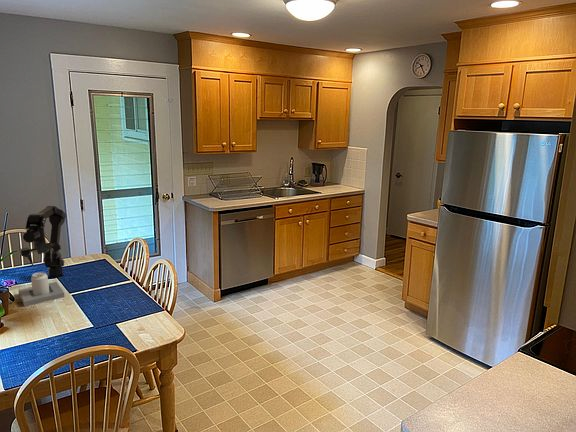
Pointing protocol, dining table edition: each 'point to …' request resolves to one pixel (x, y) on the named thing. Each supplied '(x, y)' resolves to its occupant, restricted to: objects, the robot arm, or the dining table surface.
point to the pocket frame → (53, 294)
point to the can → (40, 283)
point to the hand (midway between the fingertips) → (42, 264)
